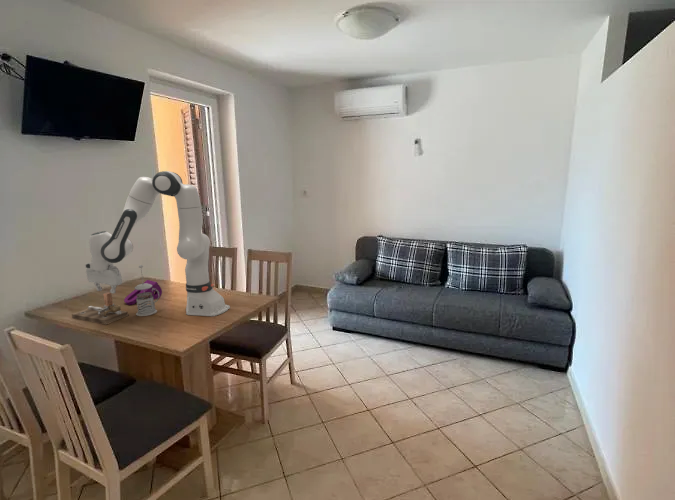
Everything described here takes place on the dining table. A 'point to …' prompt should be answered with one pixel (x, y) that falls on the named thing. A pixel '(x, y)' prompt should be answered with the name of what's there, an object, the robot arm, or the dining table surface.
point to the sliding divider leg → (107, 302)
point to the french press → (145, 308)
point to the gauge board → (104, 316)
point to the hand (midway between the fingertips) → (106, 291)
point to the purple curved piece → (133, 295)
